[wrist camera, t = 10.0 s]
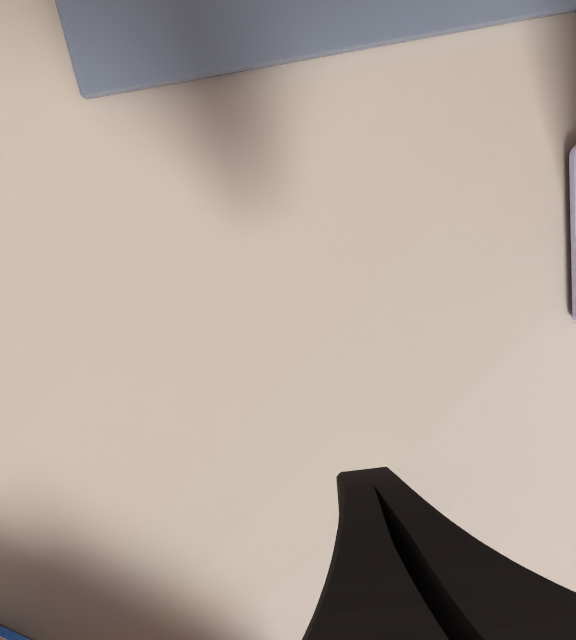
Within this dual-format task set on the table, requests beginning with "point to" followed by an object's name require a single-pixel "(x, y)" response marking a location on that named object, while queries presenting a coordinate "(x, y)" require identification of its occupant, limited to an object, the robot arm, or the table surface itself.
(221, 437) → the table surface
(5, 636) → the stack of blocks
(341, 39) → the board
